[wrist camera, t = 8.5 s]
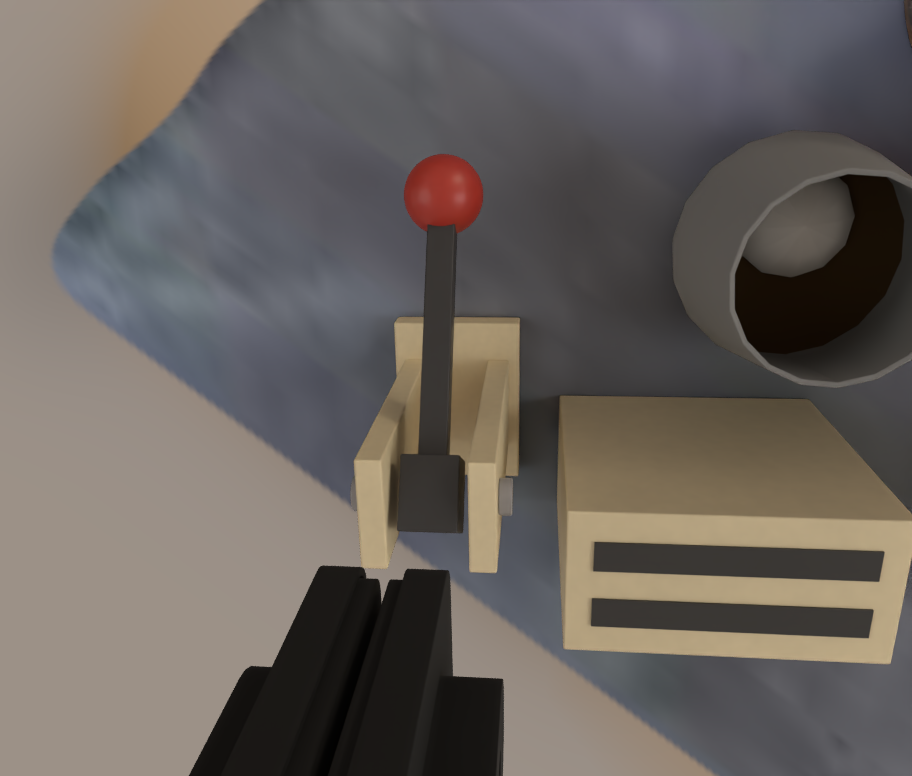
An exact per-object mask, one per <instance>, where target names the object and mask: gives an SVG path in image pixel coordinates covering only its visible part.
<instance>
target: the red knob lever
mask: <svg viewBox="0 0 912 776" xmlns="http://www.w3.org/2000/svg"><path fill="white" fill-rule="evenodd" d="M404 201H405V206H406V209H407V211H408V213H409V215H410V217H411V218H412V220H413V221H414V222H415V223H416V224H417V225H418V226H419V227H420V228H421V229H423V230H425V231H427V247H426V272H425V296H424V321H423V345H422V370H421V395H420V419H419V444H418V454H401V455H400V474H399V496H398V519H397V531H406V532H436V533H463V523H464V489H465V461H464V460H463V459H462V458H461V457H460V455H450V430H451V400H452V371H453V341H454V311H455V281H456V251H457V233H459V232H461V231H463V230H465V229H466V228H467V227H469V226H470V225H471V224H472V223H473V222H474V220H475V219H476V218H477V216H478V214H479V212H480V210H481V207H482V203H483V187H482V183H481V180H480V178H479V176H478V174H477V172H476V171H475V169H474V168H473V167H472V166H471V165H470V164H469V163H468V162H466V161H465V160H463V159H462V158H459V157H457V156H454V155H449V154H438V155H433V156H430V157H428V158H426V159H424V160H422V161H421V162H420V163H418V164H417V165H416V166H415V167H414V168H413V170H412V171H411V172H410V174H409V176H408V178H407V181H406V184H405V189H404Z"/></svg>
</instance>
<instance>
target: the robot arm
mask: <svg viewBox="0 0 912 776" xmlns="http://www.w3.org/2000/svg"><path fill="white" fill-rule="evenodd" d="M451 628H452V627H451V590H450V574H449V571H448V570H426V569H407V570H406V571H405V574H404V578H403V580H390V581H389V583H388V586H387V589H386V592H385V595H384V598H383V601H382V605H381V590H380V583H379V580H378V579H366V573H365V570H364V568H363V567H344V566H321V567H320V568H319V569H318V571H317V573H316V575H315V577H314V579H313V581H312V583H311V585H310V587H309V589H308V592H307V594H306V596H305V598H304V600H303V602H302V604H301V606H300V609H299V611H298V613H297V615H296V617H295V619H294V621H293V623H292V626H291V628H290V630H289V632H288V634H287V636H286V638H285V640H284V642H283V645H282V647H281V649H280V651H279V653H278V655H277V657H276V659H275V661H274V664H273V666H272V667H259V666H257V667H256V666H251V667H249V668H247V669H246V670H245V671H244V672H243V674H242V675H241V677H240V678H239V680H238V682H237V684H236V686H235V688H234V690H233V692H232V694H231V696H230V698H229V700H228V701H227V703H226V705H225V707H224V709H223V711H222V713H221V715H220V717H219V719H218V721H217V723H216V725H215V727H214V728H213V730H212V732H211V734H210V736H209V738H208V740H207V742H206V744H205V746H204V748H203V750H202V752H201V754H200V755H199V757H198V759H197V761H196V763H195V765H194V767H193V769H192V771H191V773H190V775H189V776H503V742H504V737H503V736H504V690H503V689H504V686H503V679H496V678H494V679H493V678H476V677H456V676H453V665H452V629H451Z"/></svg>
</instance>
